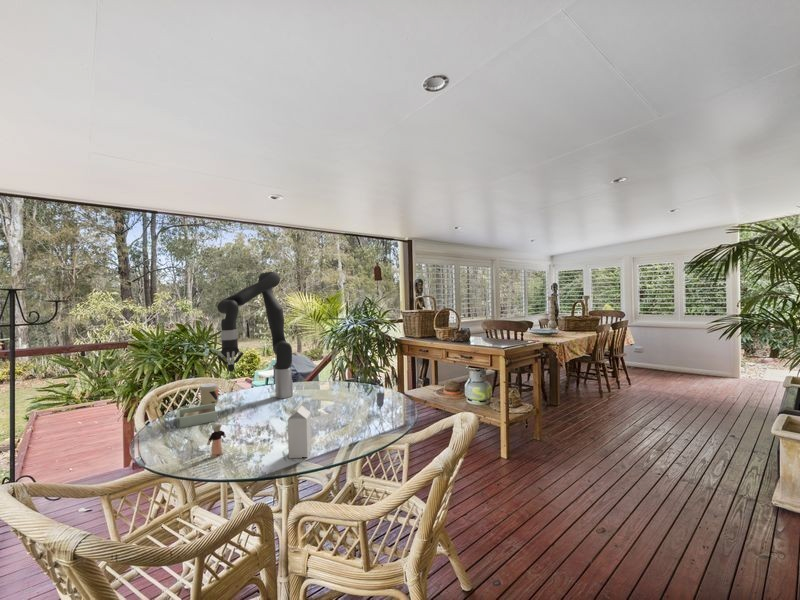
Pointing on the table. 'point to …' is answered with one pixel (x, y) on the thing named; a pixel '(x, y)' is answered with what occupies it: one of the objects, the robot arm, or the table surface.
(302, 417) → the milk carton
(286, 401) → the table surface
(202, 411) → the walnut tile
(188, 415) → the oak tile
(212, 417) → the grey-green tray
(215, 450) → the grandmother figurine
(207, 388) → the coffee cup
